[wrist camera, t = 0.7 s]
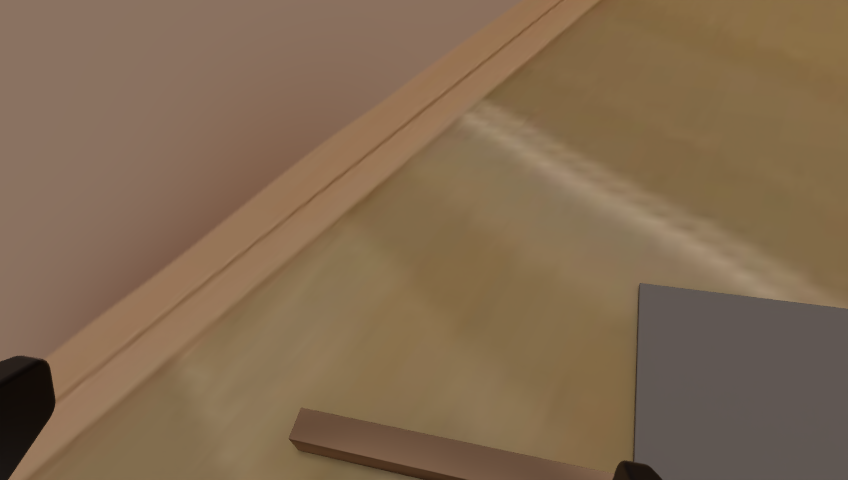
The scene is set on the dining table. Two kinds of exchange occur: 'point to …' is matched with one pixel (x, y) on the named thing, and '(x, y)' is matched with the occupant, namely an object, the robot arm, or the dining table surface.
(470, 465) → the lane
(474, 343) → the dining table surface
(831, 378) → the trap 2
